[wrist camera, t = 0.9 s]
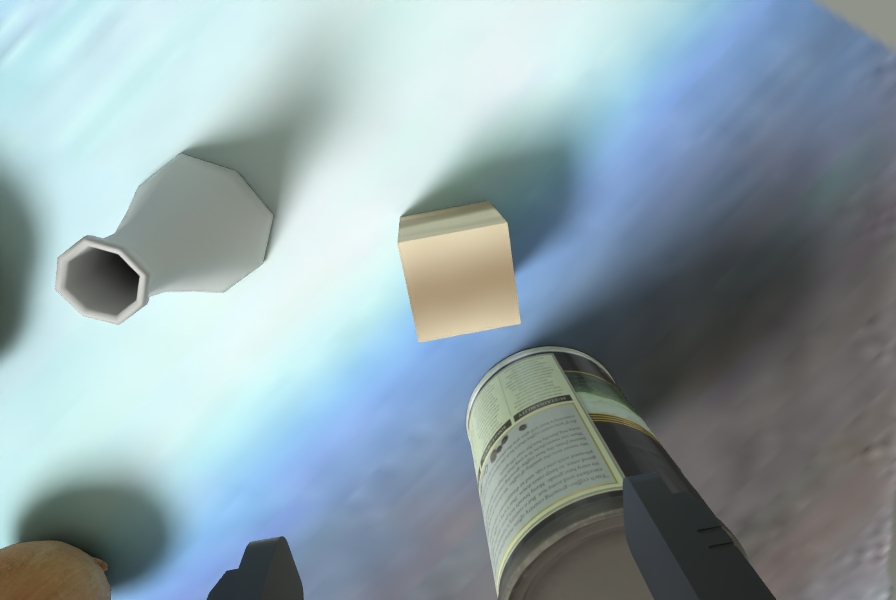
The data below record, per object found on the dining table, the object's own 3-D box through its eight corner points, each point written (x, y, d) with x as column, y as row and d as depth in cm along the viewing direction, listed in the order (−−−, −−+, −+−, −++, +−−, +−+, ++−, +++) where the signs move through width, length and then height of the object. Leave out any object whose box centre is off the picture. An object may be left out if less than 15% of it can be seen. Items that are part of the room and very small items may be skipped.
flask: (174, 127, 26) (41, 135, 17) (298, 210, 28) (241, 260, 19) (111, 239, 28) (-41, 304, 18) (231, 311, 30) (149, 403, 20)
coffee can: (628, 341, 32) (781, 502, 19) (609, 476, 36) (726, 690, 22) (465, 345, 31) (505, 515, 18) (462, 482, 35) (494, 706, 22)
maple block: (400, 216, 28) (397, 242, 23) (488, 200, 28) (507, 222, 23) (417, 299, 30) (418, 342, 25) (500, 283, 30) (520, 323, 25)
